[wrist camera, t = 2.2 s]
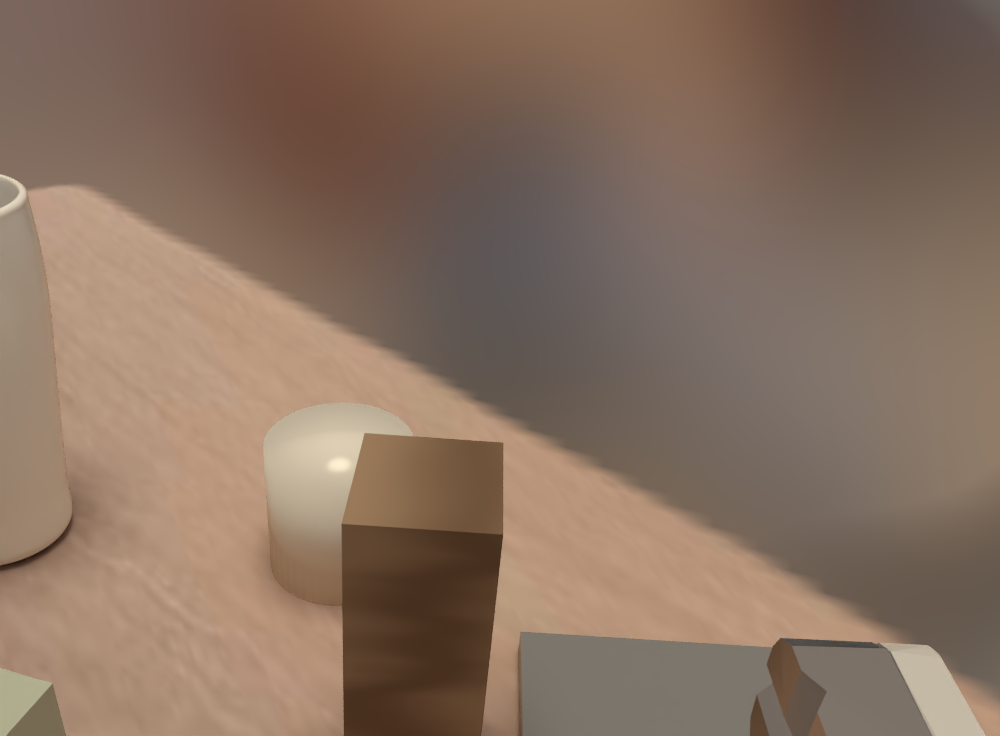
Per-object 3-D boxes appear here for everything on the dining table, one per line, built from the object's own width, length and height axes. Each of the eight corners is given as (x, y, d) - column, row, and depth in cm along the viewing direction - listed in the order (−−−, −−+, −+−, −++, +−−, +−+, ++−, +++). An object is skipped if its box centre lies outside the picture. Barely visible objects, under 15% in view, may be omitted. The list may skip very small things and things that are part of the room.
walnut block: (345, 818, 27) (341, 524, 21) (363, 711, 30) (364, 432, 24) (471, 825, 27) (503, 534, 21) (474, 718, 31) (503, 442, 25)
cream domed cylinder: (240, 561, 36) (230, 446, 33) (339, 494, 41) (337, 387, 38) (344, 628, 34) (343, 509, 31) (437, 548, 38) (444, 438, 35)
